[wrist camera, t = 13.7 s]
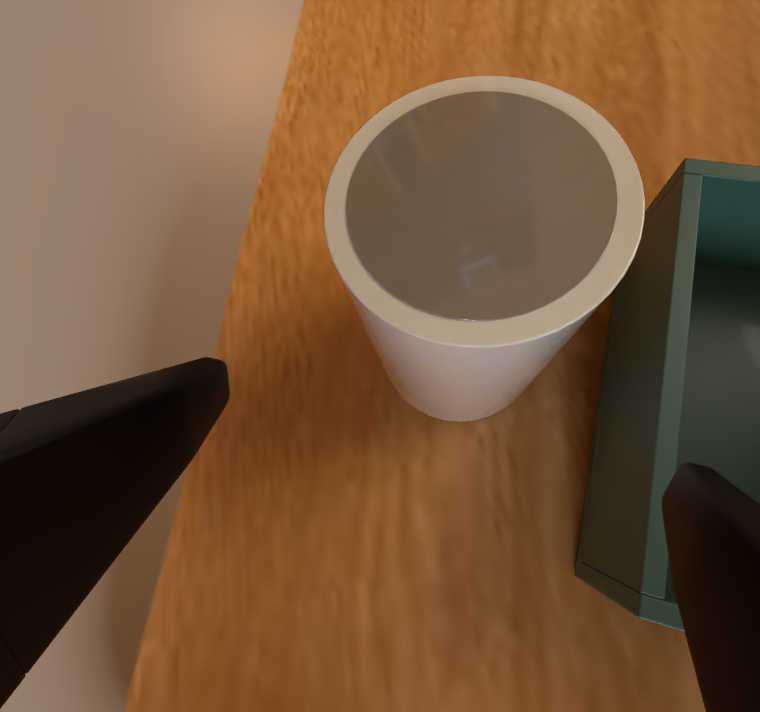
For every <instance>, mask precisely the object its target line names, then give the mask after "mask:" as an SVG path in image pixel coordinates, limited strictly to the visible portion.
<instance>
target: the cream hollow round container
mask: <svg viewBox="0 0 760 712" xmlns="http://www.w3.org/2000/svg"><path fill="white" fill-rule="evenodd" d="M323 216H324V232H325V237H326V241H327V246H328V250H329V252H330V255H331V258H332V260H333V263H334V266H335V268H336V270H337V272H338V274H339V276H340V278H341V280H342V282H343V284H344V287H345V289H346V291H347V293H348V295H349V297H350V299H351V301H352V303H353V305H354V307H355V310H356V312H357V314H358V316H359V318H360V320H361V322H362V324H363V326H364V328H365V331H366V333H367V335H368V337H369V339H370V341H371V343H372V345H373V347H374V349H375V351H376V354H377V356H378V358H379V360H380V362H381V364H382V366H383V368H384V370H385V372H386V375H387V377H388V378H389V380H390V382H391V384H392V386H393V387H394V388H395V390H396V391H397V392H398V394H399V395H400V396H401V397H402V398H403V399H404V400H405V401H406V402H408V403H409V404H410V405H411V406H413V407H414V408H416V409H417V410H419V411H421V412H422V413H425V414H427V415H429V416H432V417H435V418H438V419H442V420H448V421H461V422H464V421H474V420H478V419H482V418H486V417H489V416H491V415H494V414H496V413H498V412H500V411H501V410H503V409H505V408H506V407H508V406H509V405H510V404H512V403H513V402H514V401H515V400H516V399H517V398H518V397H519V396H520V395H521V394H522V393H523V392H524V391H525V389H526V388H527V387H528V386H529V385H530V384H531V383H532V381H533V380H534V379H535V378H536V377H537V376H538V375H539V374H540V372H541V371H542V370H543V369H544V368H545V367H546V366H547V365H548V363H549V362H550V361H551V360H552V359H553V358H554V357H555V356H556V354H557V353H558V352H559V351H560V350H561V349H562V348H563V347H564V345H565V344H566V343H567V342H568V341H569V340H570V339H571V337H572V336H573V335H574V334H575V333H576V332H577V331H578V330H579V328H580V327H581V326H582V325H583V324H584V323H585V322H586V321H587V319H588V318H589V317H590V316H591V315H592V314H593V313H594V312H595V310H596V309H597V308H598V307H599V306H600V305H601V304H602V302H603V301H604V300H605V299H606V298H607V297H608V296H609V295H610V293H611V292H612V291H613V290H614V288H615V287H616V286H617V285H618V283H619V282H620V281H621V279H622V278H623V277H624V275H625V274H626V272H627V270H628V268H629V266H630V264H631V263H632V261H633V259H634V257H635V254H636V251H637V249H638V246H639V243H640V240H641V236H642V231H643V225H644V217H645V198H644V191H643V184H642V180H641V176H640V173H639V170H638V167H637V164H636V162H635V160H634V158H633V156H632V154H631V152H630V150H629V148H628V146H627V145H626V143H625V142H624V140H623V139H622V138H621V136H620V135H619V133H618V132H617V131H616V130H615V129H614V128H613V127H612V125H611V124H610V123H609V122H608V121H607V120H606V119H605V118H604V117H603V116H601V115H600V114H599V113H598V112H596V111H595V110H594V109H593V108H592V107H590V106H589V105H587V104H586V103H584V102H582V101H581V100H579V99H578V98H576V97H574V96H572V95H570V94H568V93H566V92H564V91H562V90H560V89H557V88H555V87H552V86H549V85H546V84H543V83H540V82H536V81H532V80H527V79H523V78H516V77H508V76H488V75H482V76H470V77H461V78H456V79H450V80H445V81H442V82H438V83H435V84H431V85H428V86H425V87H423V88H420V89H418V90H415V91H413V92H410V93H408V94H406V95H405V96H403V97H401V98H399V99H397V100H395V101H393V102H392V103H390V104H389V105H387V106H386V107H384V108H383V109H381V110H380V111H379V112H377V113H376V114H375V115H374V116H373V117H372V118H370V119H369V120H368V121H367V122H366V123H365V124H364V125H363V126H362V127H361V128H360V129H359V130H358V131H357V132H356V133H355V134H354V136H353V137H352V138H351V140H350V141H349V142H348V144H347V145H346V146H345V148H344V149H343V151H342V153H341V155H340V156H339V158H338V160H337V162H336V164H335V166H334V169H333V171H332V174H331V176H330V179H329V182H328V187H327V191H326V195H325V202H324V213H323Z"/></svg>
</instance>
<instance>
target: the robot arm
mask: <svg viewBox="0 0 760 712" xmlns="http://www.w3.org/2000/svg"><path fill="white" fill-rule="evenodd" d="M229 394H230V391H229V382H228V373H227V366H226V364H225V362H223V361H222V360H218V359H213V358H208V357H205V358H201V359H197V360H194V361H190V362H186V363H183V364H180V365H176V366H172V367H169V368H165V369H161V370H158V371H154V372H150V373H147V374H143V375H139V376H136V377H132V378H128V379H125V380H121V381H118V382H114V383H111V384H107V385H103V386H99V387H96V388H92V389H89V390H85V391H81V392H78V393H74V394H71V395H67V396H63V397H60V398H56V399H53V400H49V401H45V402H42V403H38V404H34V405H31V406H27V407H24V408H22V409H21V410H18V409H16V410H12V411H9V412H5V413H1V414H0V709H1V707H2V706H3V704H4V703H5V702H6V701H7V699H8V698H9V697H10V696H11V694H12V693H13V691H14V690H15V689H16V688H17V687H18V685H19V684H20V683H21V681H22V680H23V679H24V677H25V673H28V672H29V671H30V669H31V668H32V666H33V665H34V664H35V663H36V661H37V660H38V659H39V657H40V656H41V655H42V654H43V652H44V651H45V650H46V648H47V647H48V646H49V644H50V643H51V642H52V641H53V639H54V638H55V637H56V635H57V634H58V633H59V632H60V630H61V629H62V628H63V626H64V625H65V624H66V623H67V621H68V620H69V619H70V617H71V616H72V615H73V614H74V612H75V611H76V610H77V608H78V607H79V606H80V604H81V603H82V602H83V600H84V599H85V598H86V597H87V595H88V594H89V593H90V591H91V590H92V589H93V587H94V586H95V585H96V584H97V582H98V581H99V580H100V579H101V577H102V576H103V575H104V573H105V572H106V571H107V569H108V568H109V567H110V566H111V564H112V563H113V562H114V560H115V559H116V558H117V556H118V555H119V554H120V553H121V551H122V550H123V548H124V547H125V546H126V545H127V543H128V542H129V541H130V540H131V538H132V537H133V536H134V534H135V533H136V532H137V531H138V529H139V528H140V527H141V525H142V524H143V523H144V521H145V520H146V519H147V518H148V516H149V515H150V514H151V512H152V511H153V510H154V509H155V507H156V506H157V505H158V503H159V502H160V501H161V499H162V498H163V497H164V496H165V494H166V493H167V492H168V490H169V489H170V488H171V486H172V485H173V484H174V483H175V481H176V480H177V479H178V478H179V476H180V475H181V474H182V472H183V471H184V470H185V468H186V467H187V466H188V464H189V463H190V462H191V460H192V459H193V457H194V456H195V454H196V453H197V451H198V450H199V448H200V447H201V445H202V443H203V442H204V440H205V439H206V437H207V435H208V434H209V432H210V430H211V429H212V427H213V426H214V424H215V422H216V421H217V419H218V417H219V416H220V414H221V413H222V411H223V409H224V408H225V406H226V404H227V402H228V400H229ZM661 507H662V514H663V521H664V528H665V535H666V542H667V549H668V556H669V563H670V570H671V576H672V582H673V588H674V592H675V596H676V600H677V604H678V608H679V612H680V616H681V619H682V623H683V627H684V631H685V634H686V638H687V642H688V646H689V649H690V653H691V657H692V661H693V664H694V668H695V672H696V676H697V679H698V683H699V687H700V691H701V694H702V698H703V702H704V706H705V709H706V712H760V504H759V503H757V502H756V501H755V500H753V499H752V498H751V497H749V496H748V495H747V494H746V493H744V492H743V491H742V490H740V489H739V488H738V487H736V486H735V485H734V484H733V483H731V482H730V481H729V480H727V479H726V478H725V477H723V476H722V475H721V474H719V473H718V472H717V471H716V470H714V469H713V468H711V467H708V466H704V465H699V464H695V463H690V462H685V463H682V464H681V465H680V466H679V467H678V469H677V470H676V472H675V474H674V476H673V478H672V479H671V481H670V483H669V485H668V487H667V488H666V490H665V492H664V494H663V497H662V504H661Z"/></svg>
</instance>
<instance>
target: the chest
mask: <svg viewBox="0 0 760 712" xmlns="http://www.w3.org/2000/svg"><path fill="white" fill-rule="evenodd" d="M685 462H690V463H695V464H699V465H704V466H708V467H711V468H713V469H714V470H716V471H717V472H718V473H719V474H721V475H722V476H723V477H725V478H726V479H727V480H729V481H730V482H731V483H733V484H734V485H735V486H736V487H738V488H739V489H740V490H742V491H743V492H744V493H746V494H747V495H748V496H749V497H751V498H752V499H753V500H755V501H756V502H757V503H759V504H760V167H759V166H751V165H742V164H733V163H724V162H715V161H706V160H697V159H688V158H685V159H684V160H683V162H682V163H681V164H680V166H679V167H678V168H677V170H676V171H675V172H674V174H673V175H672V176H671V178H670V179H669V180H668V182H667V183H666V184H665V186H664V187H663V188H662V190H661V191H660V192H659V194H658V195H657V196H656V198H655V199H654V200H653V202H652V203H651V204H650V206H649V207H648V208H647V210H646V211H645V217H644V225H643V231H642V236H641V240H640V243H639V246H638V249H637V251H636V254H635V257H634V259H633V261H632V263H631V264H630V266H629V268H628V270H627V272H626V274H625V275H624V277H623V278H622V279H621V281H620V282H619V283H618V285H617V286H616V287H615V288H614V291H613V299H612V306H611V313H610V320H609V328H608V335H607V342H606V349H605V357H604V364H603V371H602V378H601V386H600V393H599V400H598V407H597V415H596V422H595V429H594V436H593V444H592V451H591V458H590V465H589V473H588V480H587V487H586V494H585V502H584V509H583V516H582V523H581V531H580V538H579V545H578V552H577V560H576V567H575V576H576V577H578V578H579V579H581V580H582V581H584V582H585V583H587V584H588V585H590V586H591V587H593V588H594V589H596V590H597V591H599V592H600V593H602V594H603V595H605V596H606V597H608V598H609V599H611V600H612V601H614V602H615V603H617V604H618V605H620V606H622V607H623V608H625V609H626V610H628V611H629V612H631V613H632V614H634V615H635V616H637V617H638V618H640V619H643V620H646V621H650V622H653V623H656V624H659V625H663V626H666V627H669V628H673V629H676V630H679V631H683V632H685V631H684V627H683V623H682V619H681V616H680V612H679V608H678V604H677V600H676V596H675V592H674V588H673V582H672V576H671V570H670V563H669V556H668V549H667V542H666V535H665V528H664V521H663V514H662V507H661V504H662V497H663V494H664V492H665V490H666V488H667V487H668V485H669V483H670V481H671V479H672V478H673V476H674V474H675V472H676V470H677V469H678V467H679V466H680V465H681V464H682V463H685Z"/></svg>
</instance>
